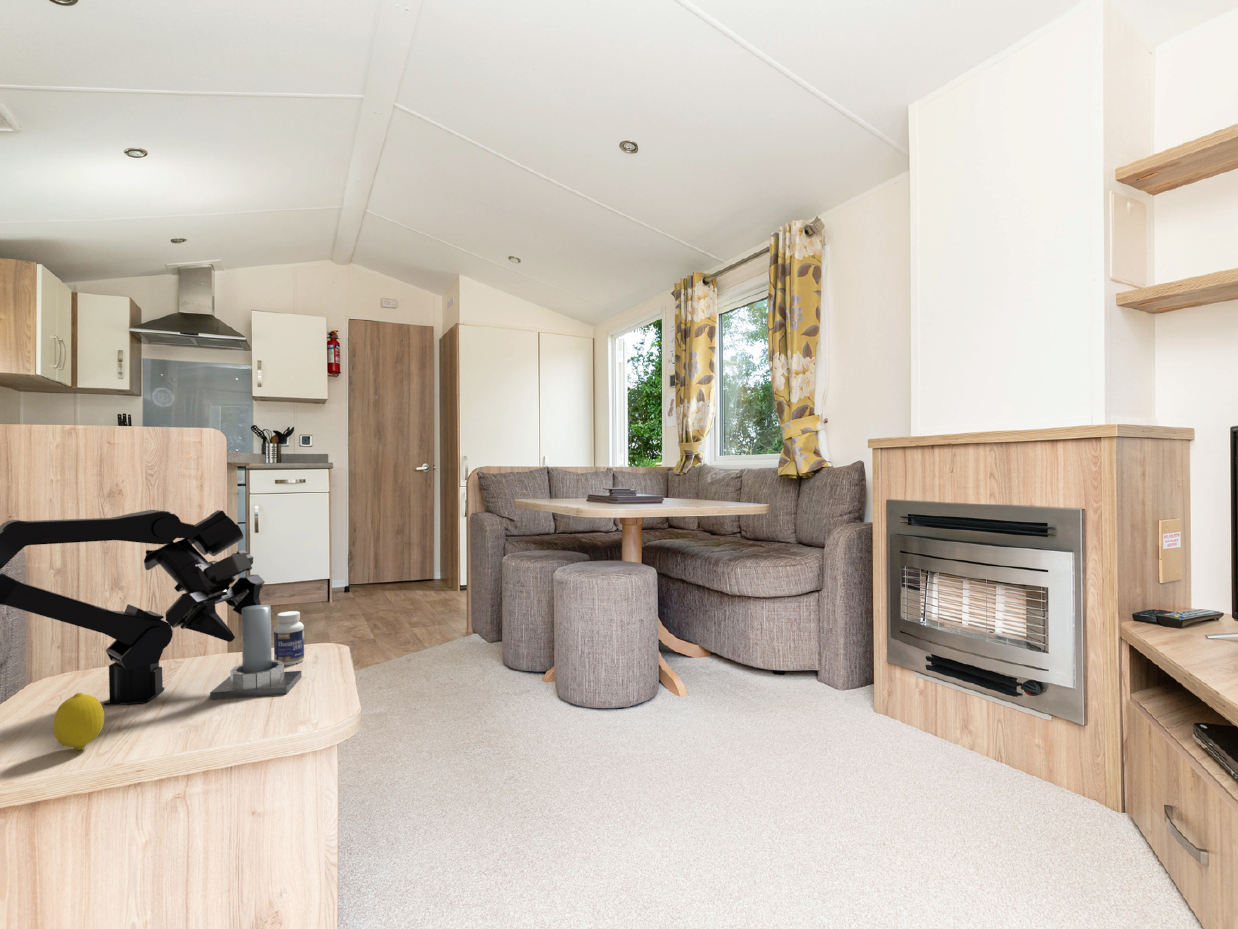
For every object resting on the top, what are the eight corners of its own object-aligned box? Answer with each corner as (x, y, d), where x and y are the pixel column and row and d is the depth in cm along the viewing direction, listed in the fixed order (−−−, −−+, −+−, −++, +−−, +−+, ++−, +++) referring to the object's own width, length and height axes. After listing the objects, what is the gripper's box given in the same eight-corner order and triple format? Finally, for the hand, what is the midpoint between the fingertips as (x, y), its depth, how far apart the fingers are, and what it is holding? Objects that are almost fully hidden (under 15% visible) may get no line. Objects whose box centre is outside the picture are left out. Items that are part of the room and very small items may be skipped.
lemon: (77, 760, 90) (75, 701, 90) (43, 757, 91) (41, 699, 91) (114, 742, 96) (113, 687, 96) (82, 740, 97) (81, 685, 97)
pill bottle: (275, 668, 129) (274, 617, 129) (273, 661, 134) (272, 612, 134) (305, 663, 132) (305, 614, 132) (303, 656, 137) (302, 609, 136)
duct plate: (210, 699, 112) (209, 677, 112) (230, 682, 121) (230, 661, 121) (286, 694, 115) (286, 672, 115) (301, 677, 124) (301, 657, 123)
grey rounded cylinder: (238, 686, 115) (237, 611, 115) (248, 678, 120) (247, 605, 120) (266, 684, 116) (265, 609, 116) (275, 676, 121) (274, 604, 121)
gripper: (180, 545, 109) (245, 613, 108) (253, 531, 127) (310, 590, 126) (136, 593, 110) (200, 661, 109) (216, 572, 128) (271, 630, 127)
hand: (250, 632), depth 118 cm, fingers open, 9 cm apart
